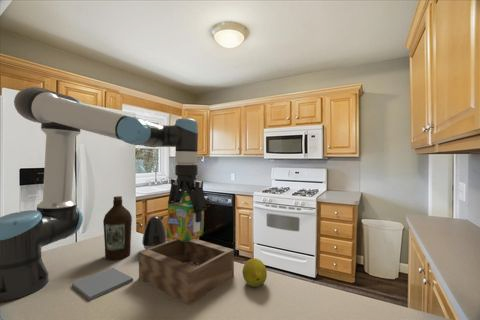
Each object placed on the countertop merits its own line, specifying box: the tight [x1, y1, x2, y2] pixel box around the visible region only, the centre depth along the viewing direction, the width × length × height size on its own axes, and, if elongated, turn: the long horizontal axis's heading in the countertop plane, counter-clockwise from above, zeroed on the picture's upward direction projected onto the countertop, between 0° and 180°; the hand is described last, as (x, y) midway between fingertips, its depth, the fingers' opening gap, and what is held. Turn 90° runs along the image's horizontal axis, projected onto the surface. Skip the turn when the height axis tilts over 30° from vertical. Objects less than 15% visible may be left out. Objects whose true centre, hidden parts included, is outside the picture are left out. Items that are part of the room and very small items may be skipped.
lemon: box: [242, 258, 268, 288], centre depth 76 cm, size 11×8×8 cm
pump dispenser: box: [142, 215, 168, 250], centre depth 105 cm, size 10×10×15 cm
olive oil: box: [103, 195, 133, 261], centre depth 98 cm, size 11×11×25 cm
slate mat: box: [71, 267, 134, 301], centre depth 77 cm, size 13×13×1 cm
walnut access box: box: [138, 238, 235, 306], centre depth 81 cm, size 25×20×9 cm
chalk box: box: [166, 192, 205, 242], centre depth 81 cm, size 9×9×15 cm
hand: (186, 228), depth 81 cm, fingers closed on chalk box, 9 cm apart
